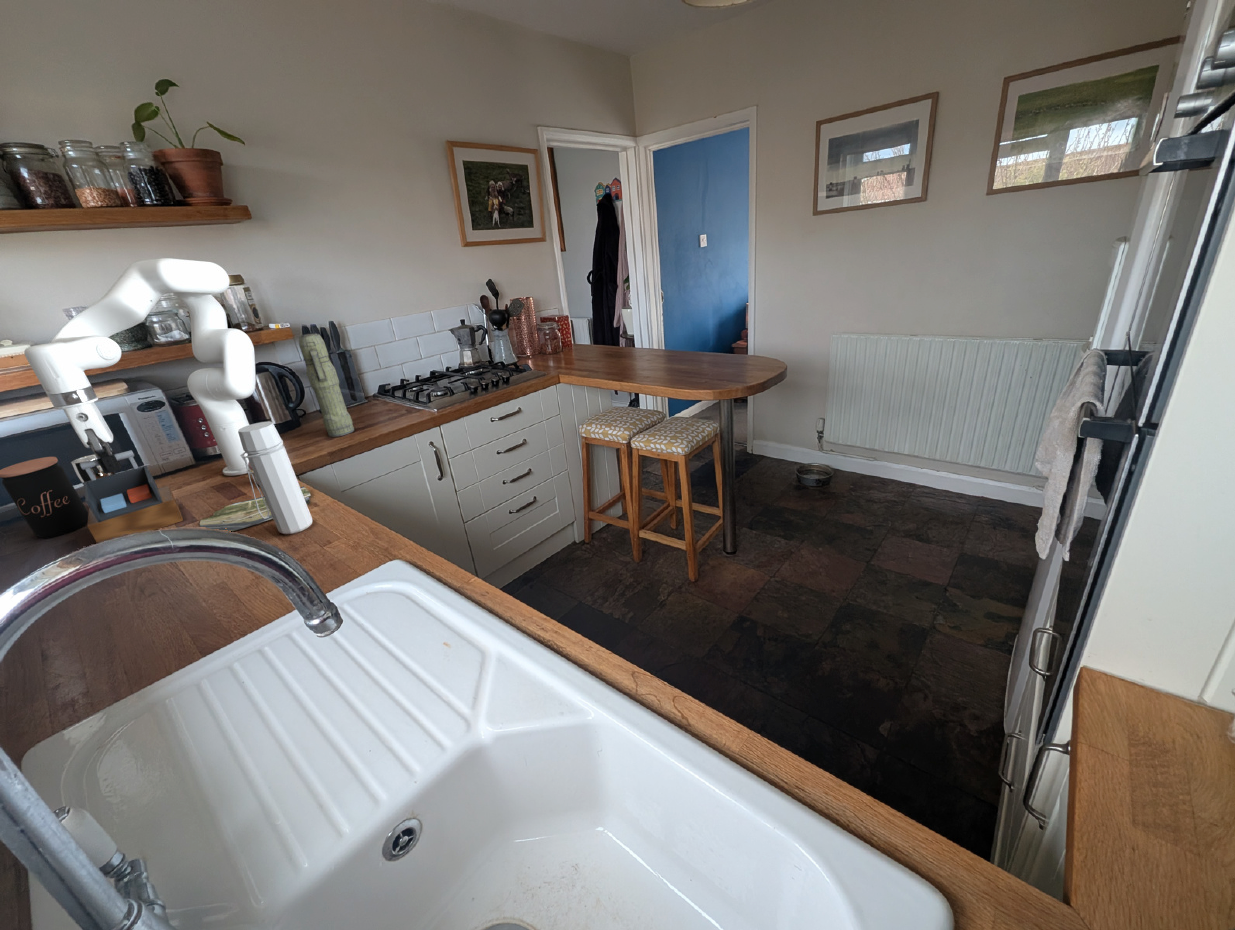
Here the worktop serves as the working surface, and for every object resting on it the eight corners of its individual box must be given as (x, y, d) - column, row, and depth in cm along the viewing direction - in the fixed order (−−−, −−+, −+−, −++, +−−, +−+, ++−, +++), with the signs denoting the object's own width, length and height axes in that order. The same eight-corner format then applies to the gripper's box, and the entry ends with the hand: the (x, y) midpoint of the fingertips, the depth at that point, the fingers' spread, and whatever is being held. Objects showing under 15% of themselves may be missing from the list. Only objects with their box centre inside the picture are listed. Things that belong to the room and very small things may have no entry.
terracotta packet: (149, 489, 133) (147, 484, 132) (152, 497, 130) (149, 492, 129) (129, 495, 130) (126, 490, 129) (131, 503, 127) (128, 498, 126)
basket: (156, 484, 136) (137, 447, 130) (162, 502, 129) (143, 464, 123) (95, 502, 129) (72, 464, 123) (98, 522, 121) (74, 483, 116)
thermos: (330, 439, 182) (295, 338, 168) (326, 432, 191) (292, 335, 177) (357, 432, 186) (325, 333, 173) (351, 425, 196) (321, 330, 182)
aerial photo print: (203, 547, 118) (200, 540, 117) (193, 522, 131) (190, 516, 130) (321, 503, 133) (319, 498, 132) (302, 485, 146) (300, 480, 145)
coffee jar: (28, 544, 129) (-15, 478, 122) (47, 526, 138) (8, 464, 131) (83, 530, 133) (45, 465, 126) (98, 514, 142) (64, 453, 135)
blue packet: (124, 498, 129) (121, 493, 128) (126, 506, 126) (123, 501, 125) (103, 504, 127) (100, 499, 126) (104, 513, 124) (101, 508, 123)
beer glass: (111, 514, 141) (83, 463, 135) (92, 514, 143) (63, 463, 137) (137, 501, 147) (111, 452, 141) (118, 502, 149) (92, 453, 143)
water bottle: (308, 516, 126) (270, 418, 116) (318, 526, 121) (279, 424, 111) (266, 533, 121) (222, 431, 111) (274, 543, 115) (229, 438, 105)
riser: (178, 505, 142) (168, 485, 139) (183, 520, 132) (172, 499, 130) (100, 529, 132) (88, 509, 130) (100, 548, 123) (87, 526, 120)
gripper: (94, 398, 117) (133, 472, 124) (96, 389, 128) (132, 457, 135) (48, 407, 113) (92, 484, 120) (54, 397, 124) (94, 468, 131)
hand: (113, 469), depth 128 cm, fingers closed on basket
